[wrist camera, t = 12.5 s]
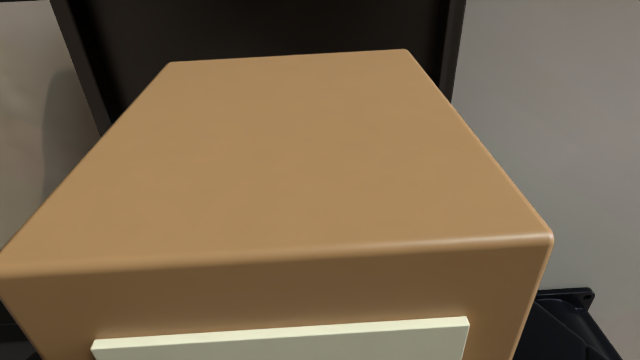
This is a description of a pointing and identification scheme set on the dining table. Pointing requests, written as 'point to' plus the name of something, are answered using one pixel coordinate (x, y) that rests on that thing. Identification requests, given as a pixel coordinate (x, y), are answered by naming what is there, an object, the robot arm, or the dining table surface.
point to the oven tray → (242, 37)
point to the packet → (281, 224)
